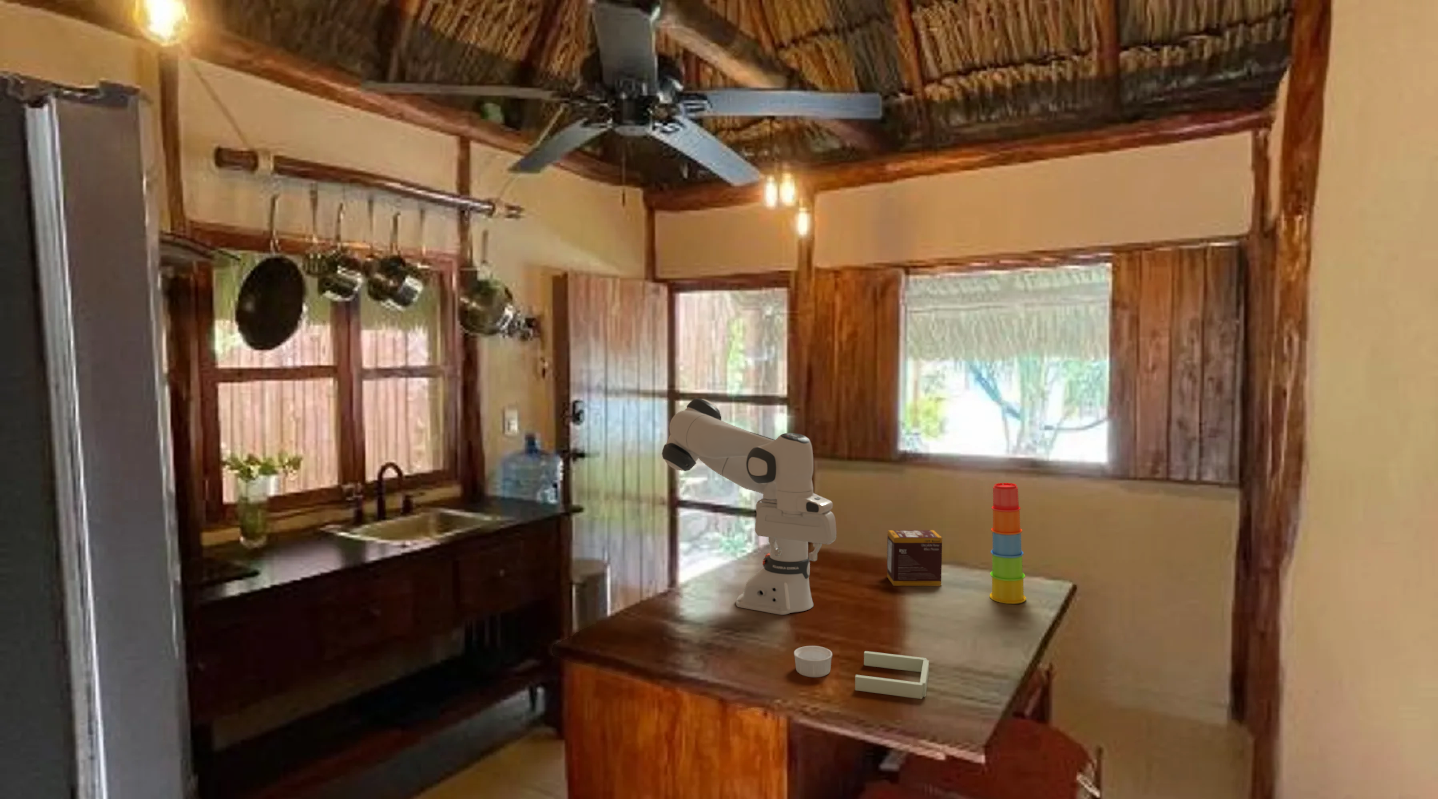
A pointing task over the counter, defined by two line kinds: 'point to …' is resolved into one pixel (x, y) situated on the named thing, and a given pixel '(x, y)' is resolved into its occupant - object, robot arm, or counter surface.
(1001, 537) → the stacking cups
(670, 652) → the counter surface
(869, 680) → the tray frame
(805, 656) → the ramekin
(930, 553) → the supplement box
